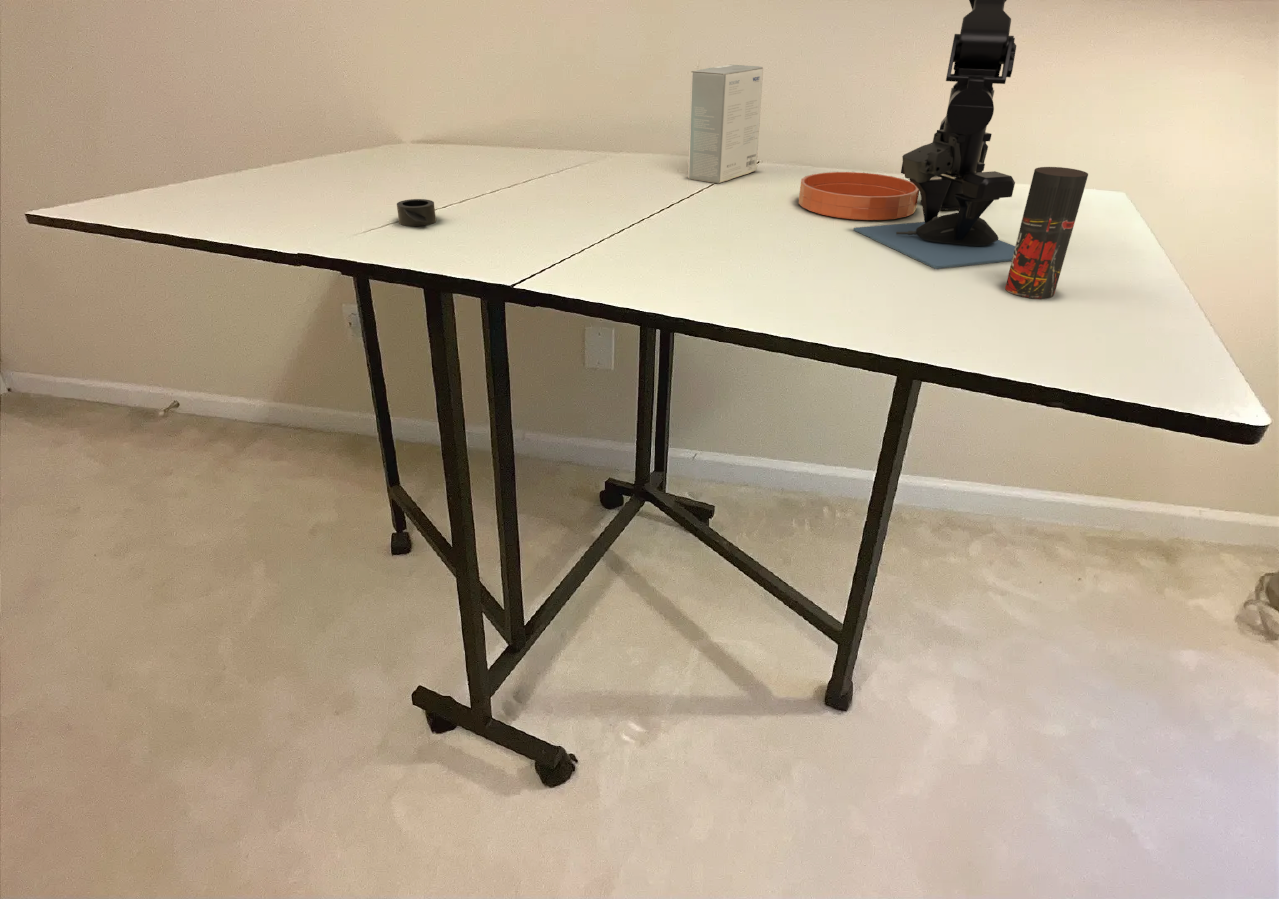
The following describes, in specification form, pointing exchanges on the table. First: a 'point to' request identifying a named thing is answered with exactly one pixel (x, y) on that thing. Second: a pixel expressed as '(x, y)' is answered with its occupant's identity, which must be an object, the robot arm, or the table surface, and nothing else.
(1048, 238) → the deodorant
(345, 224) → the table surface
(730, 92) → the hard drive box
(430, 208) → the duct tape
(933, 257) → the mouse pad
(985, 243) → the gaming mouse
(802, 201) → the bowl
